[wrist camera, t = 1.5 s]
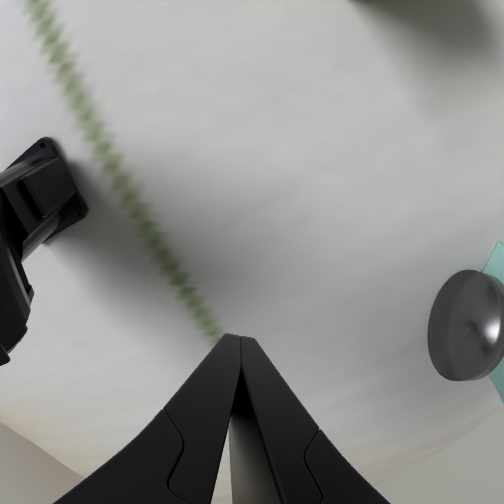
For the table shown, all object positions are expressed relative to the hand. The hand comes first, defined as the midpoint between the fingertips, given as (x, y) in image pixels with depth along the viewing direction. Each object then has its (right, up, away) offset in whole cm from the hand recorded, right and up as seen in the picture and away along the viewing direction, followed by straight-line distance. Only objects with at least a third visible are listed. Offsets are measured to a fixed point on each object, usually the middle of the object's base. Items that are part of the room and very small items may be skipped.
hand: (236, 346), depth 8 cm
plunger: (+19, -1, +12) cm, 23 cm away
